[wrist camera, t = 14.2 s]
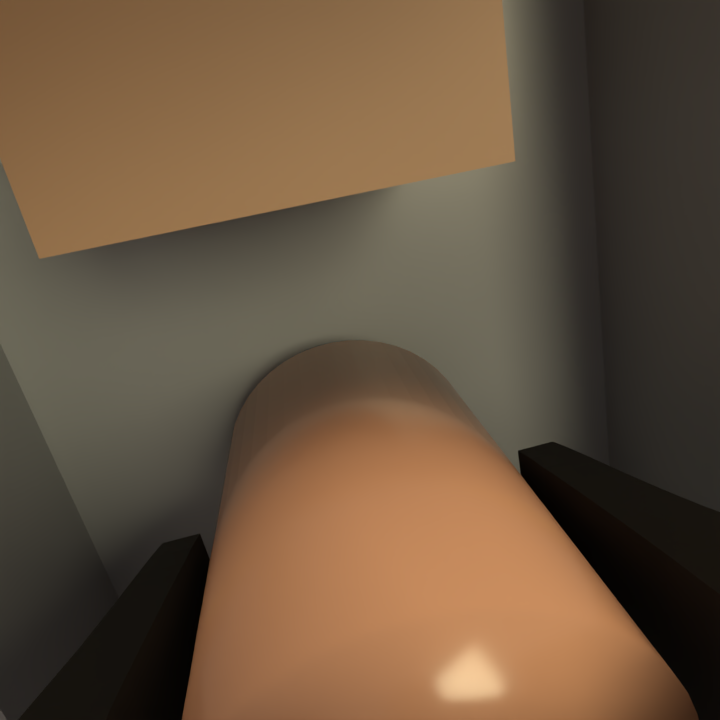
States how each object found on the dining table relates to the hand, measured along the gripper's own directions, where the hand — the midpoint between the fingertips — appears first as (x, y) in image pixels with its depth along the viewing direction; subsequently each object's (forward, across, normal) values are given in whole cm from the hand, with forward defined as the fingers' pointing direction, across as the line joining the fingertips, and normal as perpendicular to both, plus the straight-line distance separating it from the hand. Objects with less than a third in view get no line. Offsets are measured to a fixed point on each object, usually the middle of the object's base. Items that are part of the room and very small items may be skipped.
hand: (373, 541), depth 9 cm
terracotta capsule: (+3, 0, 0) cm, 3 cm away
